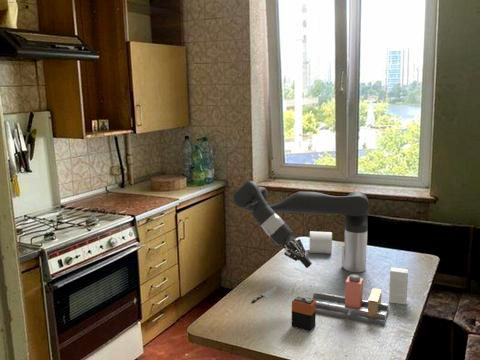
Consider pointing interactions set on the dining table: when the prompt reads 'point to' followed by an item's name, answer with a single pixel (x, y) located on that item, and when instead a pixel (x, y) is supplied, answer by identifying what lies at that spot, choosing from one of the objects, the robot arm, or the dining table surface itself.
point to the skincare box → (398, 285)
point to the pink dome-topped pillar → (354, 291)
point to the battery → (303, 313)
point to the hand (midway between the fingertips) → (309, 266)
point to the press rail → (368, 313)
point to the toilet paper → (321, 242)
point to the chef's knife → (265, 294)
